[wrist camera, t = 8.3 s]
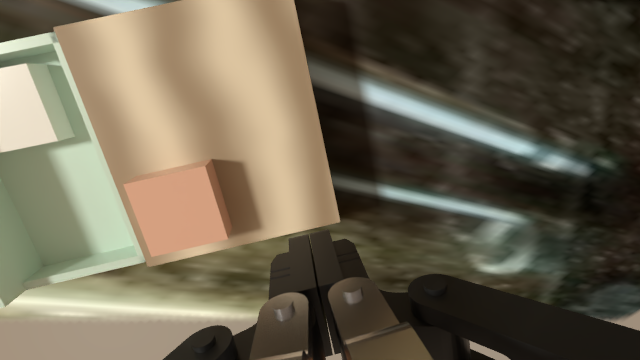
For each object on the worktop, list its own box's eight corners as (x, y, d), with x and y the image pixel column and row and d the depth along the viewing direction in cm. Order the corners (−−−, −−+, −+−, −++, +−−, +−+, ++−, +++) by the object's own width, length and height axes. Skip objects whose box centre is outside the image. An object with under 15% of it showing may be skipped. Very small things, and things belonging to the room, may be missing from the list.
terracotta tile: (211, 158, 23) (205, 165, 22) (232, 226, 25) (228, 239, 23) (136, 175, 23) (123, 184, 21) (161, 243, 25) (151, 257, 23)
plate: (288, -7, 25) (289, -22, 21) (333, 203, 29) (340, 221, 26) (89, 35, 24) (53, 27, 20) (166, 242, 29) (147, 266, 25)
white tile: (-56, 78, 22) (-29, 79, 24) (-19, 156, 23) (4, 150, 25) (26, 63, 22) (46, 64, 24) (57, 141, 24) (74, 136, 25)
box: (85, 36, 24) (36, 25, 20) (162, 243, 29) (137, 275, 24) (-57, 66, 24) (-142, 63, 19) (44, 270, 29) (-4, 309, 24)
